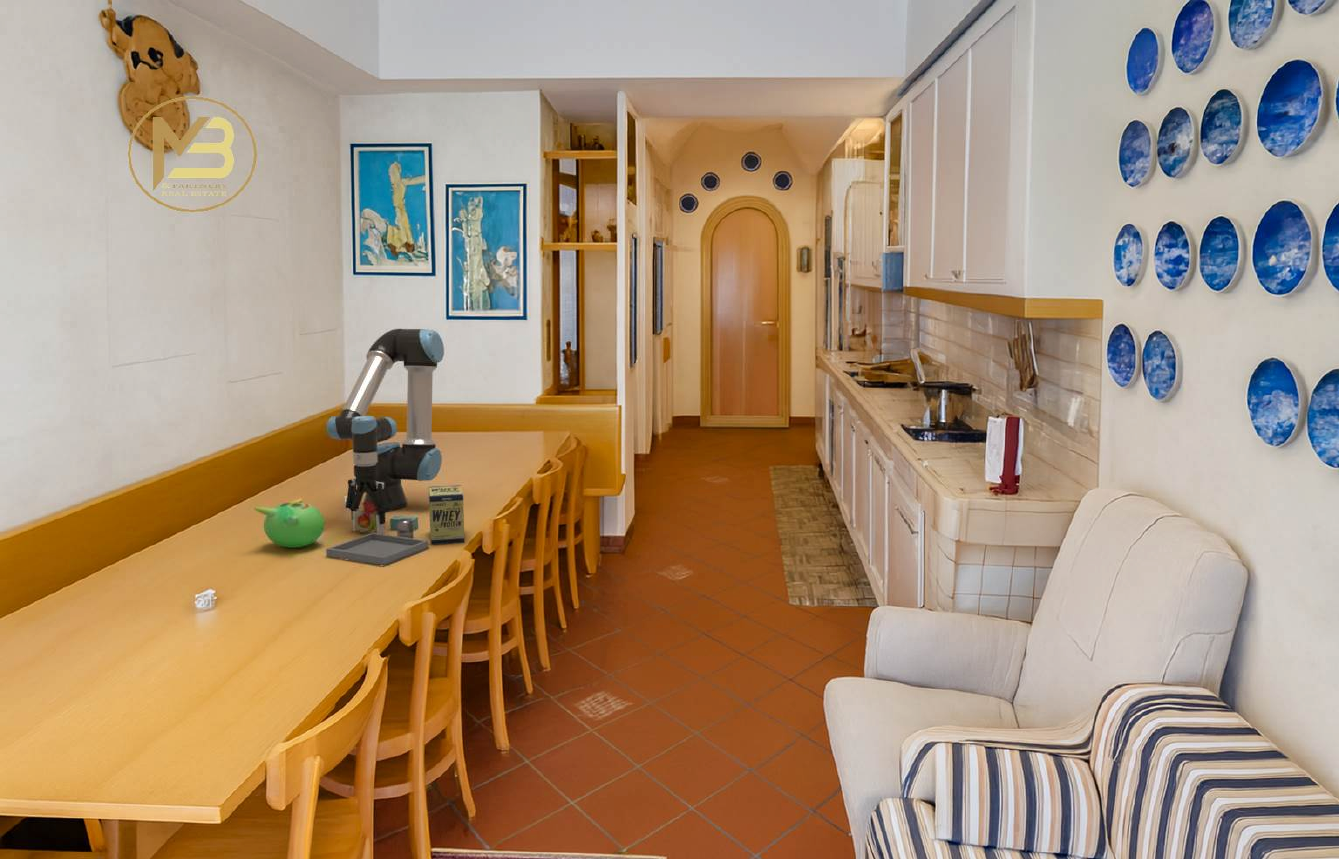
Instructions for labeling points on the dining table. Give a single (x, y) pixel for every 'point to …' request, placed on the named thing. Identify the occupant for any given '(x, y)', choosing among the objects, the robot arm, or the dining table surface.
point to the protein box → (446, 514)
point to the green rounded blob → (292, 523)
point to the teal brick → (394, 520)
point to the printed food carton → (366, 518)
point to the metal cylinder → (405, 528)
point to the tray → (377, 549)
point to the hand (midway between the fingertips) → (368, 531)
